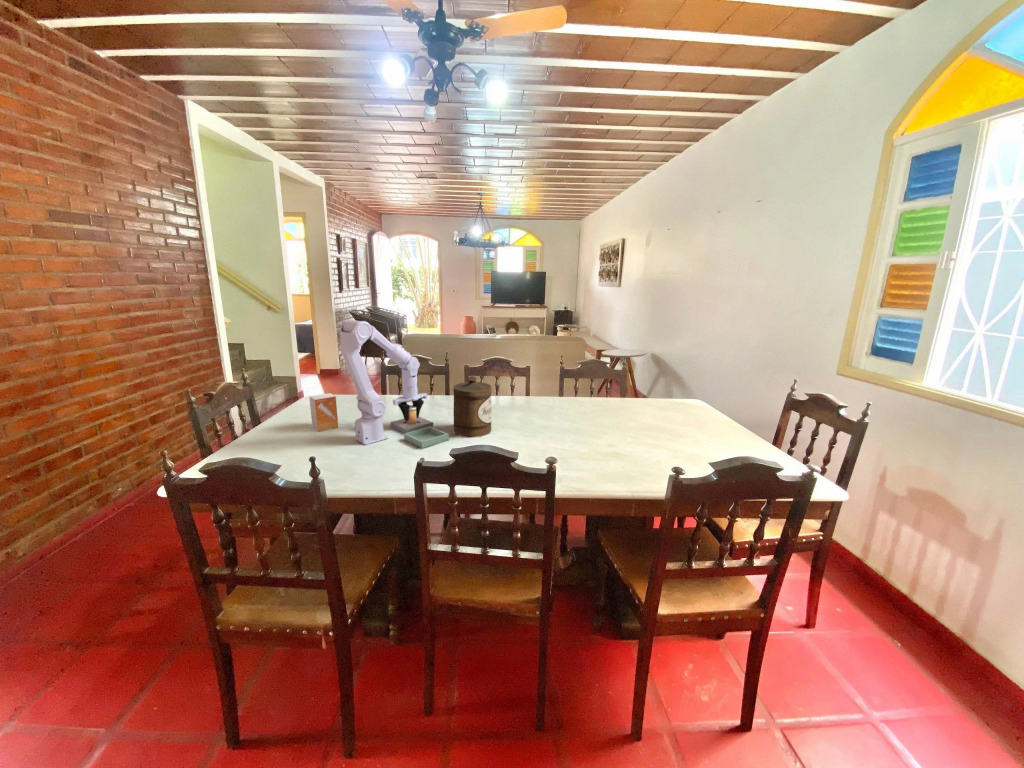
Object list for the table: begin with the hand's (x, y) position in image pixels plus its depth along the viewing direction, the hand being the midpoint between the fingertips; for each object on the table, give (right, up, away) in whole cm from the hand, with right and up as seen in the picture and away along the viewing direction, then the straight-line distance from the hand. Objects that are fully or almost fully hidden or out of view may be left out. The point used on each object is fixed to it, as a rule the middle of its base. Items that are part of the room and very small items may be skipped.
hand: (411, 418), depth 165 cm
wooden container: (+25, -5, -2) cm, 25 cm away
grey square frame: (0, -3, +1) cm, 3 cm away
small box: (-34, -4, -1) cm, 34 cm away
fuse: (0, -3, +1) cm, 3 cm away
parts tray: (+9, -7, -13) cm, 17 cm away
